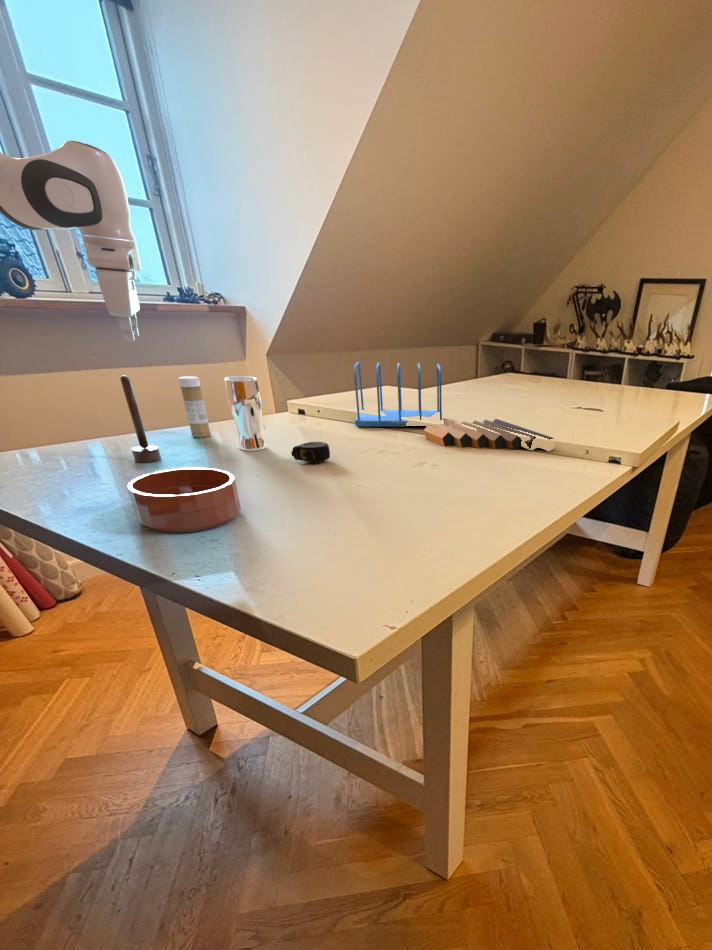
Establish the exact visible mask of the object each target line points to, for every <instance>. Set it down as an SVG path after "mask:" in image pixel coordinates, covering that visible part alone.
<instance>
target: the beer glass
mask: <svg viewBox="0 0 712 950" xmlns="http://www.w3.org/2000/svg"><path fill="white" fill-rule="evenodd" d="M257 379H258V378H257V377H254V376H248V375H247V376H246V375H245V376H244V375H241V376H239V375H237V376H227V377H225V378H224V382H225V389H226V390H225V391H226V396H227V397H226V398H227V401H228V406H229V410H230V412H231V415H232V418H233V420H234V423H235V426H236V429H237V432H238V447H239V448H238V449H240V450H241V451H244V452H245V451H246V452H256V451H262V450H263V451H264V450H266V449H267V447H268V446H267V442H266V440H265V436H264V433H263V407H262V398H261V393H260V388H259V385H258V380H257Z"/></svg>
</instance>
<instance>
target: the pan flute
mask: <svg viewBox="0 0 712 950" xmlns="http://www.w3.org/2000/svg"><path fill="white" fill-rule="evenodd" d="M472 423H473V424H476V425H479V426H482V427H484V428H487V429H490V430H493V431H495V432H498V433H500V434H501V435H499V434H497V433H494V432H491V431H488V430H486V429H483V428H480V427H477V426H475V425H472ZM472 423H469V422H466V421H462V423H461V424H464V425H467V426H470V427H473V428H476V429H477V432H476V431H474V430H471V429H469V428H466V427H463V426H461V424H458V423H455V422H451V423H450V424H449V425H447V424H445V423H444V424H440V425H439V426H438V427H434V426H432V425H428V426H427V427H424V429H423V433H424V436H425V437H424V438H425V439H427V440H429V441H431V442H433V443H435V444H438V445H440V446H442V447H444V446H445V447H452V446H453V445H455V446H457V447H460V448H469V447H470V446H472V447H474V448H477V449H483V448H484V449H485V448H487V447H489V448H492V449H494V450H500V449H501V450H502V449H504V446H505V448H507V449H510V450H512V451H515V450H516V451H517V450H521V447H520V446H521V441H522V440H521V438H520V437H518V436H517V435H514V434H511V433H509V432H506V431H510V432H514V433H518V434H522V435H526V436H529V437H530V438H531V439H530V440H527V441H525V443H526V444H527V446H528V447H529V449H530V448H531V445H532V441H533V439H535V438H536V437H535V436H532V435H529V434H526V433H523V432H520V431H517V430H521V431H524V432H528V433H531V434H534V435H538V436H541V437H544V438H547V439H549V440H550V439H554V438H553V436H549V435H546V434H543V433H541V432H537V431H534V430H531V429H528V428H526V427H522V426H519V425H516V424H513V423H510V422H507V421H504V420H501V419H498V418H494V420H493V421H491V420H488V419H484V420H483V421H482V422H481V421H477V420H473V422H472ZM483 423H484V424H483ZM489 425H490V426H489ZM449 426H451V427H449ZM494 427H495V428H494ZM508 427H509V428H508ZM497 428H499V429H497ZM511 428H512V429H511ZM500 429H502V430H500ZM514 429H516V430H514ZM503 430H506V431H503Z"/></svg>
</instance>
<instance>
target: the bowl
mask: <svg viewBox="0 0 712 950" xmlns="http://www.w3.org/2000/svg"><path fill="white" fill-rule="evenodd" d="M127 490H128V493H129V497H130V500H131V503H132V507H133V510H134V513H135V516H136V520H137V521H138V522H139V523H140V524H141V525H143V526H145V527H147V528H148V529H150V530H152V531H156V532H161V533H170V534H175V533H176V534H181V533H182V534H183V533H196V532H202V531H207V530H212V529H215V528H219V527H222V526H225V525H226V524H228V523H230V522H232V521H234V520H235V518H237V516H238V515H239V513H240V512H241V510H242V506H241V503H240V498H239V493H238V487H237V482H236V479H235V476H234V474H232V473H230V472H229V471H226V470H221V469H217V468H209V467H208V468H207V467H184V468H183V467H181V468H172V469H165V470H159V471H154V472H150V473H147V474H143V475H141V476H138V477H136V478H133V479H131V480H130V482H128V484H127Z"/></svg>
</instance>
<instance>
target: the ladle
mask: <svg viewBox="0 0 712 950" xmlns="http://www.w3.org/2000/svg"><path fill="white" fill-rule="evenodd" d="M120 383H121V386H122V390H123V392H124V397H125V400H126V403H127V406H128V411H129V414H130V417H131V421H132V424H133V427H134V432H135V434H136V438H137V441H138V445H139V446H138V445H137V446H135V447H132V448H131V453H132V456H133V459H134V462H136V463H139V464H148V463H149V464H151V463H155V462H160V461H161V460H162V455H161V453H160V449H159V447H158V446H157V445H149V442H148V439H147V436H146V432H145V428H144V425H143V421H142V418H141V413H140V411H139V407H138V403H137V400H136V397H135V393H134V389H133V386H132V383H131V379H130V378H129V376H127V375H121V377H120Z"/></svg>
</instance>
